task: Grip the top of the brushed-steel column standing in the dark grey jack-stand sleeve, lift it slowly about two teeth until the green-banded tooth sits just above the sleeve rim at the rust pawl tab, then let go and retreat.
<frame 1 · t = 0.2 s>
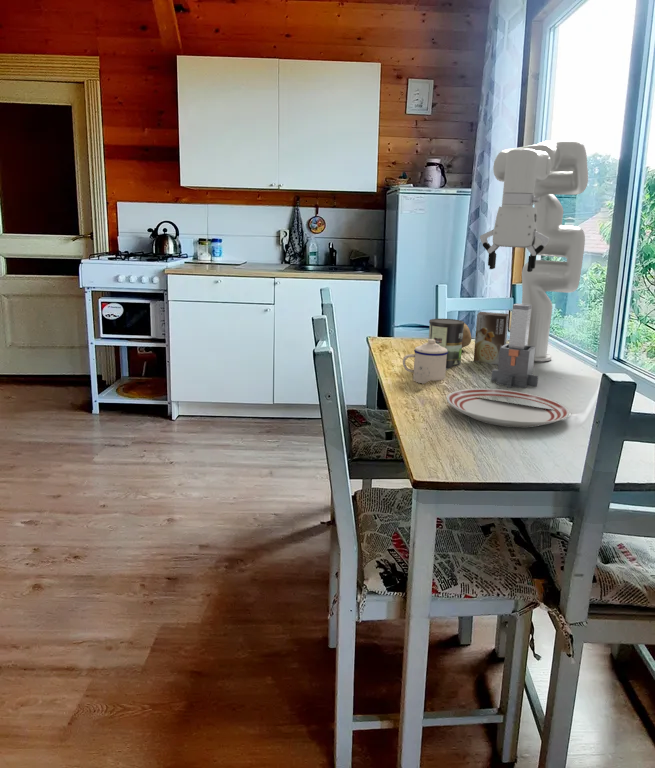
hand: (510, 270, 166), 31 cm above the table, tool pointing down, fingers open, 9 cm apart
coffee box: (488, 365, 199), on the table
column: (518, 344, 169), point 12 cm above the table, slide at 0.0 cm
natural sponge: (456, 349, 222), on the table
teacup with lid: (423, 381, 177), on the table
stand base: (513, 387, 173), on the table
dinner plate: (505, 416, 149), on the table
coffee can: (443, 367, 195), on the table
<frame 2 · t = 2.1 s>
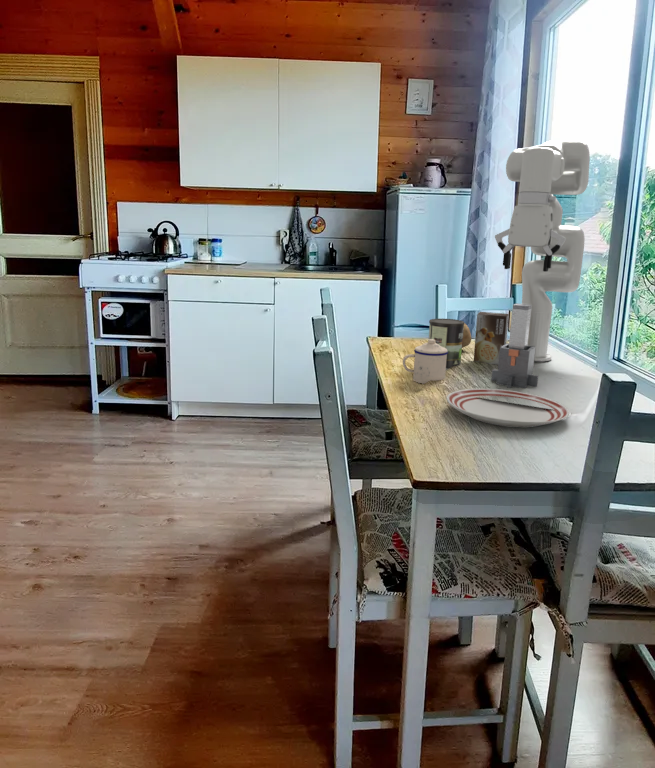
hand: (526, 270, 164), 31 cm above the table, tool pointing down, fingers open, 9 cm apart
nothing on the table moved.
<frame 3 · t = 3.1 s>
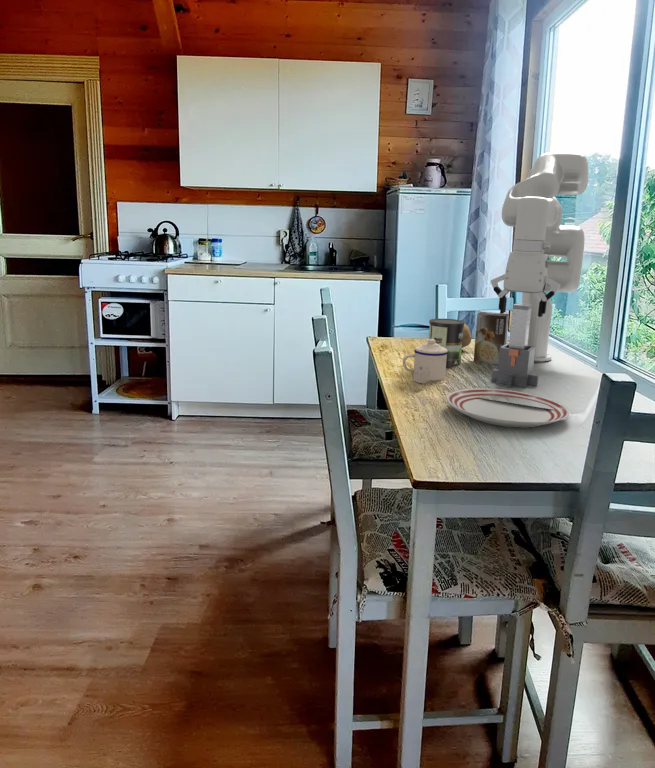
hand: (521, 314, 167), 20 cm above the table, tool pointing down, fingers open, 9 cm apart
nothing on the table moved.
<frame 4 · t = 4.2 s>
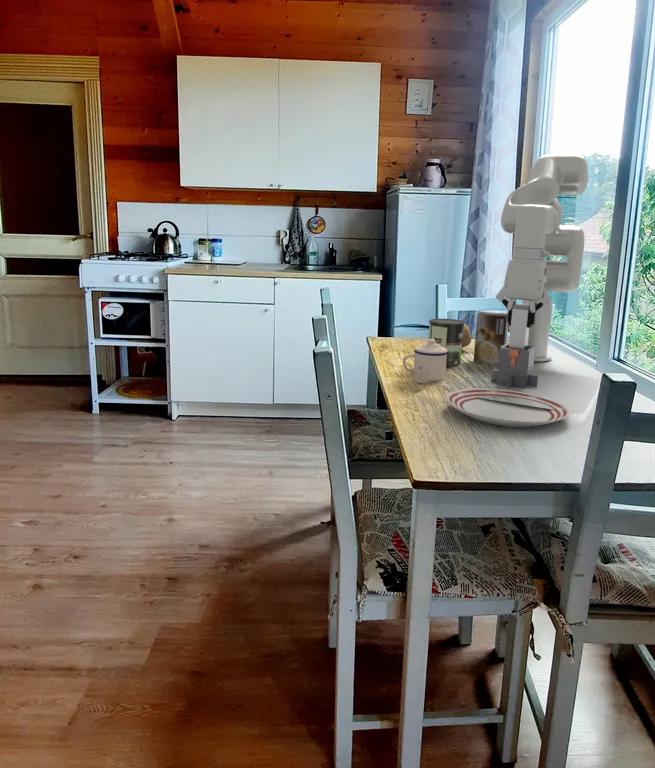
hand: (520, 325, 168), 17 cm above the table, tool pointing down, fingers closed on column, 4 cm apart
column: (518, 344, 169), point 12 cm above the table, slide at 0.0 cm, touching gripper
everything else where it was.
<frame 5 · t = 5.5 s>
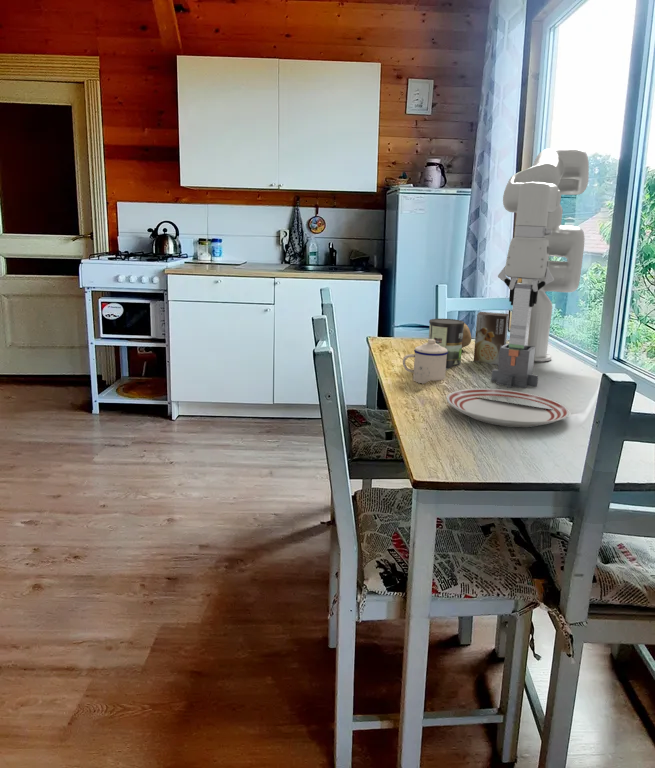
hand: (522, 304, 167), 22 cm above the table, tool pointing down, fingers closed on column, 4 cm apart
column: (520, 324, 168), point 17 cm above the table, slide at 5.4 cm, touching gripper
everything else where it was.
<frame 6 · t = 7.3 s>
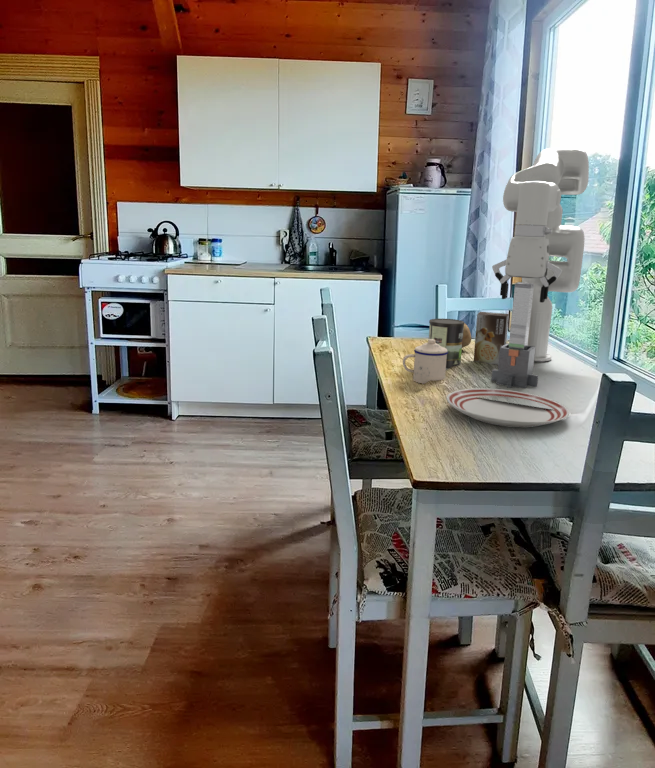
hand: (522, 300, 167), 24 cm above the table, tool pointing down, fingers open, 9 cm apart
column: (520, 323, 168), point 17 cm above the table, slide at 5.6 cm
everything else where it was.
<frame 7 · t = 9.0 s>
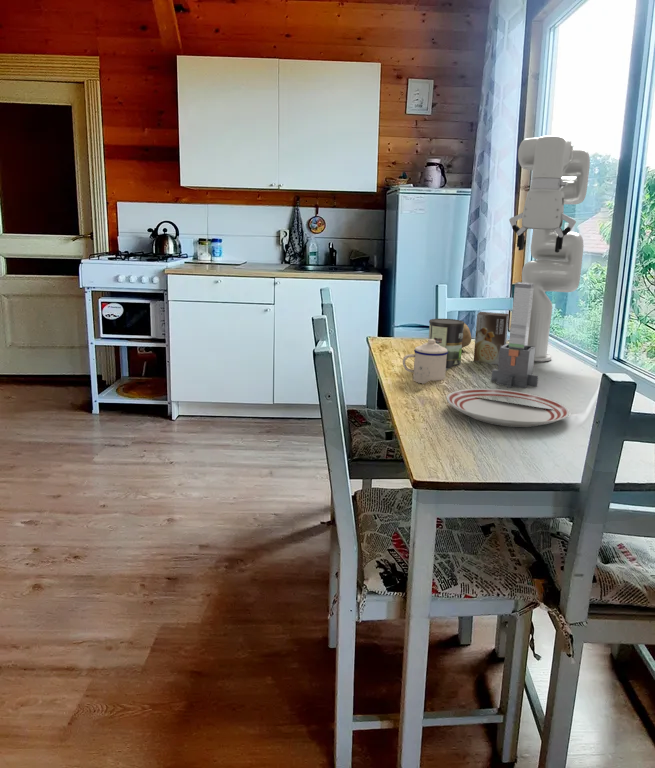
hand: (538, 251, 176), 36 cm above the table, tool pointing down, fingers open, 9 cm apart
nothing on the table moved.
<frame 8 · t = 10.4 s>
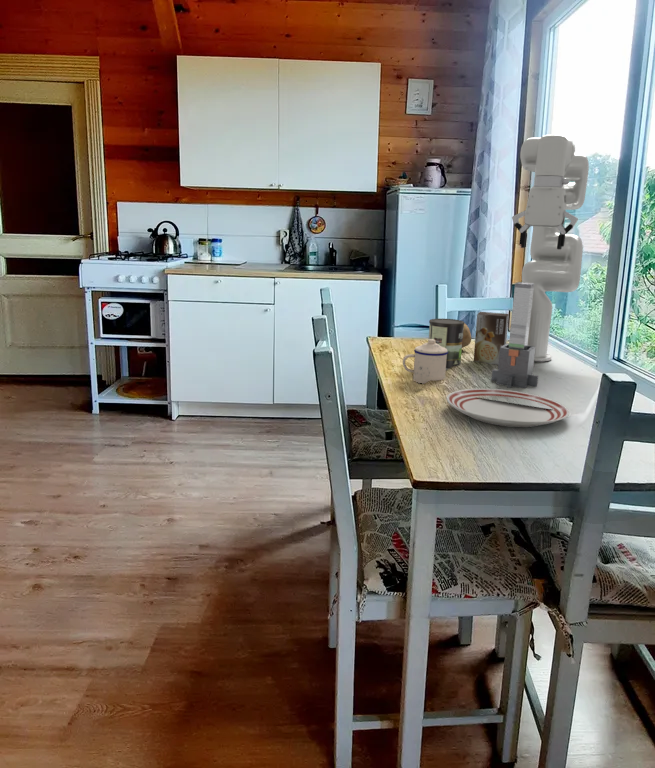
hand: (541, 248, 178), 36 cm above the table, tool pointing down, fingers open, 9 cm apart
nothing on the table moved.
at the end: column slide at 5.6 cm; the gripper is holding nothing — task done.
